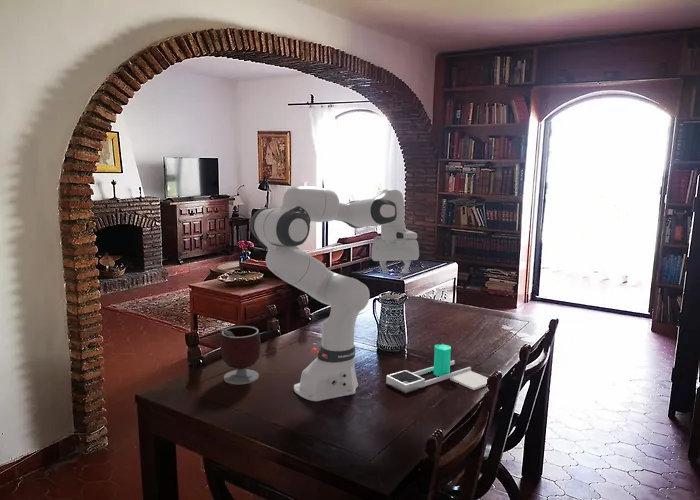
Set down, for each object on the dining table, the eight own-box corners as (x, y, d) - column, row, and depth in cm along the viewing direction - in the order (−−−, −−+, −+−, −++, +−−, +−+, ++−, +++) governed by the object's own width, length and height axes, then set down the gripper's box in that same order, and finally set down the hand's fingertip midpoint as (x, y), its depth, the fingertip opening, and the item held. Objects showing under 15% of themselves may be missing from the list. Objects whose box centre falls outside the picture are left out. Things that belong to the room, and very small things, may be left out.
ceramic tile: (473, 390, 186) (474, 388, 186) (449, 379, 195) (450, 377, 195) (494, 382, 193) (494, 380, 192) (470, 372, 201) (470, 370, 201)
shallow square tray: (405, 393, 183) (405, 385, 182) (386, 383, 191) (386, 375, 190) (424, 387, 188) (425, 379, 188) (405, 377, 196) (405, 370, 195)
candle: (431, 375, 199) (432, 343, 197) (436, 369, 204) (437, 339, 202) (447, 378, 196) (448, 346, 194) (452, 372, 201) (453, 341, 199)
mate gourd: (244, 367, 204) (242, 315, 201) (269, 376, 196) (268, 323, 192) (209, 379, 193) (207, 325, 189) (234, 390, 184) (233, 333, 181)
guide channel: (424, 386, 189) (424, 382, 189) (407, 378, 196) (407, 374, 195) (470, 371, 203) (471, 367, 203) (453, 363, 210) (453, 360, 210)
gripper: (366, 236, 201) (368, 273, 201) (409, 233, 186) (410, 274, 186) (378, 236, 205) (380, 272, 205) (420, 233, 191) (422, 272, 191)
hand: (395, 273), depth 196 cm, fingers open, 8 cm apart
